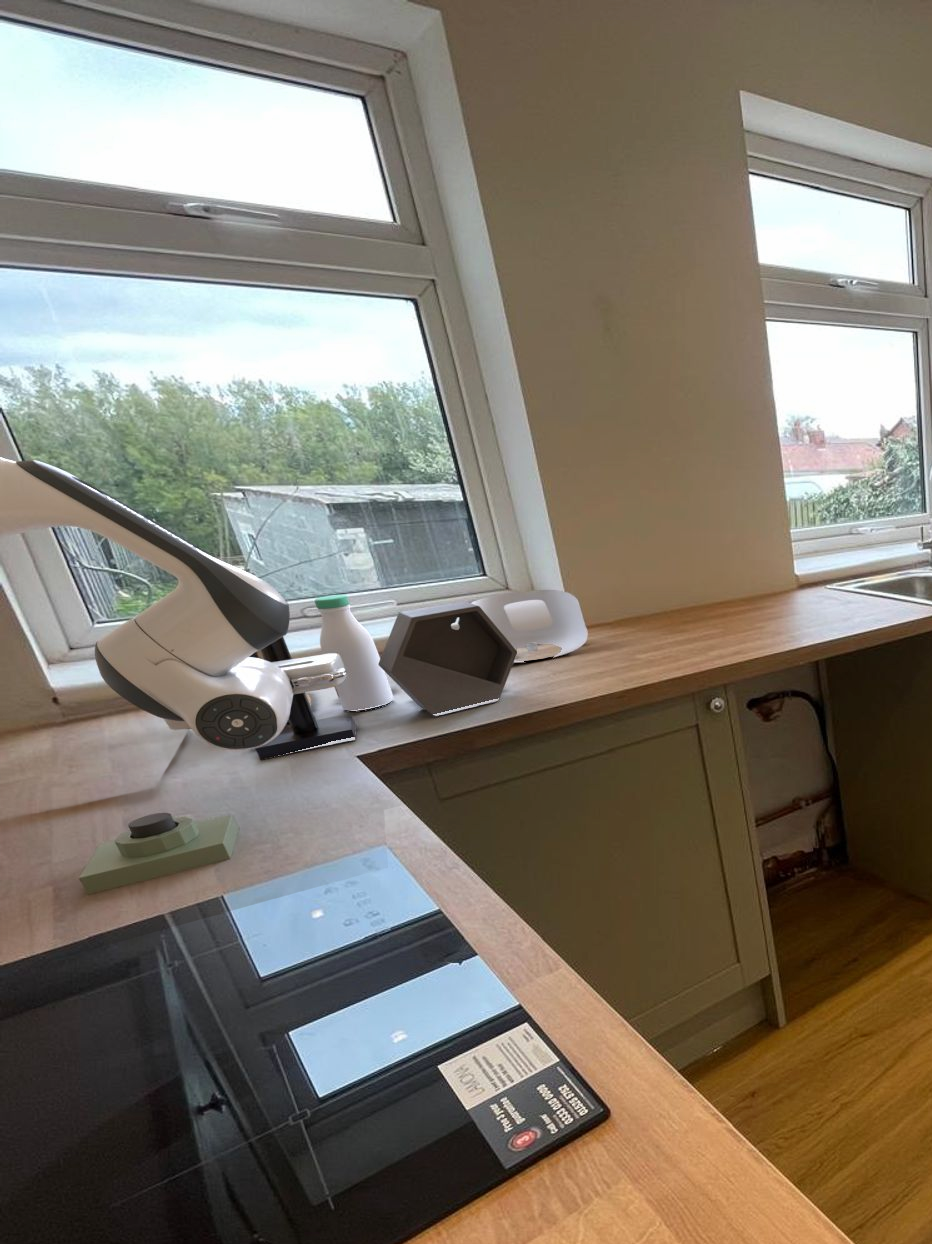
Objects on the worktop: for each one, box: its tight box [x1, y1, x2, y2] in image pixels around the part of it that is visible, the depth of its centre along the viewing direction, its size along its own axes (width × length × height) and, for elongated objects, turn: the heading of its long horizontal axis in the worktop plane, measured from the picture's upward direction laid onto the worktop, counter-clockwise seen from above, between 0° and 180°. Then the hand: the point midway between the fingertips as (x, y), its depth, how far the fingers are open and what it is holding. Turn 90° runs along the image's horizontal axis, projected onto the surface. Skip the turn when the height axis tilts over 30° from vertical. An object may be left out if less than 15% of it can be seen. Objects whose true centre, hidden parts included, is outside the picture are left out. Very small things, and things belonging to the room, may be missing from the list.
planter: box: [378, 600, 517, 716], centre depth 143 cm, size 17×8×21 cm
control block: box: [78, 813, 240, 895], centre depth 95 cm, size 12×10×4 cm
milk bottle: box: [314, 594, 394, 711], centre depth 144 cm, size 8×8×20 cm
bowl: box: [471, 589, 589, 664], centre depth 177 cm, size 20×19×12 cm
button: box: [127, 812, 177, 839], centre depth 94 cm, size 4×4×2 cm
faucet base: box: [254, 636, 356, 761], centre depth 128 cm, size 12×10×20 cm
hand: (256, 670), depth 116 cm, fingers open, 3 cm apart
